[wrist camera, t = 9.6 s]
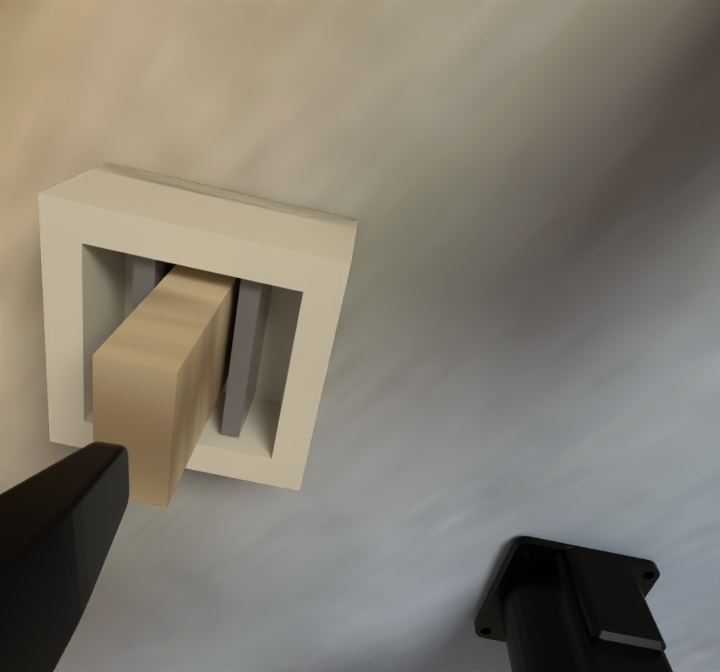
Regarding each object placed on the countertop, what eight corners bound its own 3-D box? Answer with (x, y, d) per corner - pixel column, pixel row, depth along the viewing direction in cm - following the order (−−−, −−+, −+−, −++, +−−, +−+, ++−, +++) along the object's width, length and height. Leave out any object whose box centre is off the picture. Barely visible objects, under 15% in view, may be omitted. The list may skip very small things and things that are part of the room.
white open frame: (313, 419, 22) (299, 490, 19) (104, 375, 22) (49, 441, 18) (358, 220, 19) (351, 263, 15) (106, 162, 18) (38, 193, 15)
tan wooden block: (234, 362, 20) (166, 507, 14) (184, 352, 20) (93, 493, 14) (248, 258, 18) (176, 372, 12) (192, 246, 18) (92, 354, 12)
